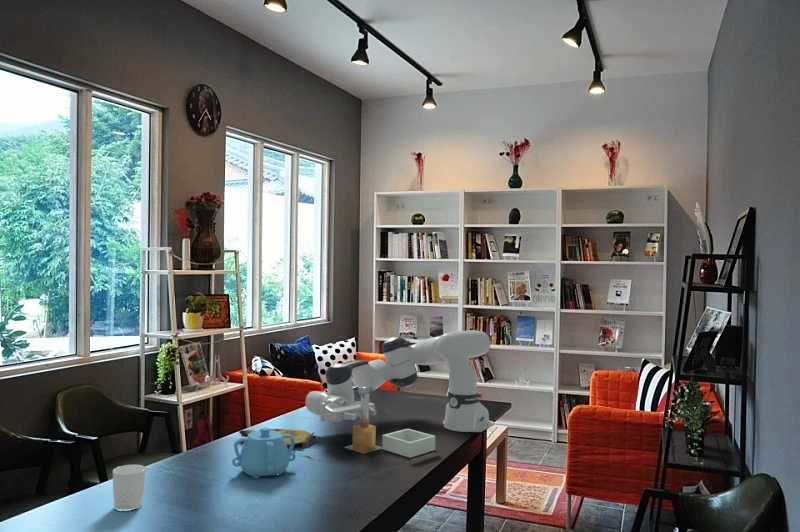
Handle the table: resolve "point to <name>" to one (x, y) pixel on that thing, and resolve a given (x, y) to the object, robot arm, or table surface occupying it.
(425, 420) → the table surface
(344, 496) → the table surface
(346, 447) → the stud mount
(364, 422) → the strut
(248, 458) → the decorative pot
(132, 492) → the white cup
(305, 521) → the table surface
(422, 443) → the bin
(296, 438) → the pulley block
